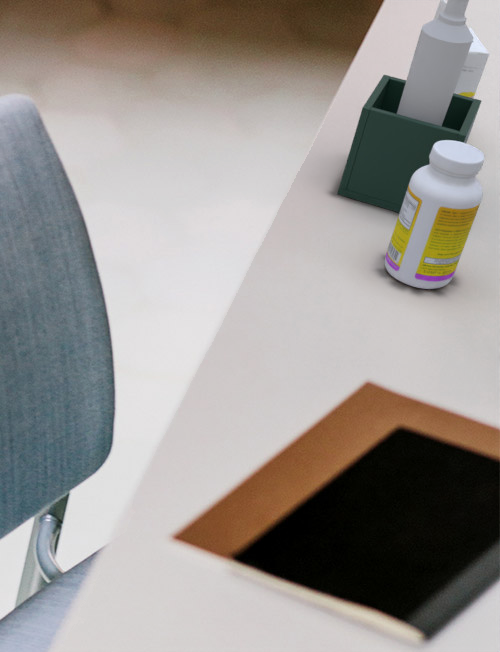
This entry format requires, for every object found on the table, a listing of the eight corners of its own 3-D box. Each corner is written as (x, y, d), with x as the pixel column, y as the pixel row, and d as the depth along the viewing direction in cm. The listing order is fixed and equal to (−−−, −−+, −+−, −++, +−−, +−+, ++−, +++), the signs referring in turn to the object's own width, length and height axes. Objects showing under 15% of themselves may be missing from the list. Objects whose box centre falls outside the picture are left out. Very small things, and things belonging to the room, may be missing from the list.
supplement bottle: (462, 276, 116) (509, 155, 108) (430, 299, 112) (476, 175, 104) (402, 248, 119) (443, 128, 111) (369, 269, 115) (409, 147, 107)
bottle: (386, 194, 126) (464, -48, 110) (366, 171, 130) (440, -66, 114) (430, 195, 127) (514, -45, 112) (409, 172, 131) (488, -63, 115)
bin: (451, 184, 132) (481, 100, 126) (435, 223, 124) (466, 135, 118) (358, 157, 135) (383, 74, 128) (337, 194, 127) (362, 107, 121)
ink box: (457, 152, 139) (502, 27, 129) (415, 148, 138) (457, 21, 129) (440, 121, 145) (481, -1, 136) (400, 116, 145) (438, -6, 136)
